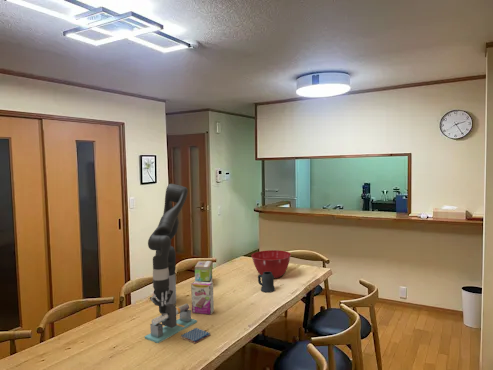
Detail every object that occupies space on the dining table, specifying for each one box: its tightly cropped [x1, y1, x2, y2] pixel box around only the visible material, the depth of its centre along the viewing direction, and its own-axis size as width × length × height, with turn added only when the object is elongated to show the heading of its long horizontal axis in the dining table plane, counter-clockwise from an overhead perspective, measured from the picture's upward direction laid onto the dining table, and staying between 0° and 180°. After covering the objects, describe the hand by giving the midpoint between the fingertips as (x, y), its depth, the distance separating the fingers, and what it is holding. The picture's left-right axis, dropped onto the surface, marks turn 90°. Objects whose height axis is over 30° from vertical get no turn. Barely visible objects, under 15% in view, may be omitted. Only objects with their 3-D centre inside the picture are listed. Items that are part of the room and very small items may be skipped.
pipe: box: [149, 303, 192, 338], centre depth 177 cm, size 22×5×9 cm, turn 145°
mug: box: [257, 271, 276, 294], centre depth 230 cm, size 12×9×11 cm
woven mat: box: [180, 327, 211, 345], centre depth 169 cm, size 10×11×2 cm
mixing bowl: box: [250, 249, 292, 279], centre depth 259 cm, size 28×28×16 cm
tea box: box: [194, 260, 213, 283], centre depth 243 cm, size 15×10×15 cm, turn 179°
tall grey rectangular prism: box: [161, 303, 177, 328], centre depth 175 cm, size 3×7×10 cm, turn 56°
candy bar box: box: [190, 280, 215, 316], centre depth 197 cm, size 11×5×16 cm, turn 74°
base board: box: [144, 318, 198, 344], centre depth 177 cm, size 26×9×1 cm, turn 145°
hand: (162, 312), depth 172 cm, fingers closed
